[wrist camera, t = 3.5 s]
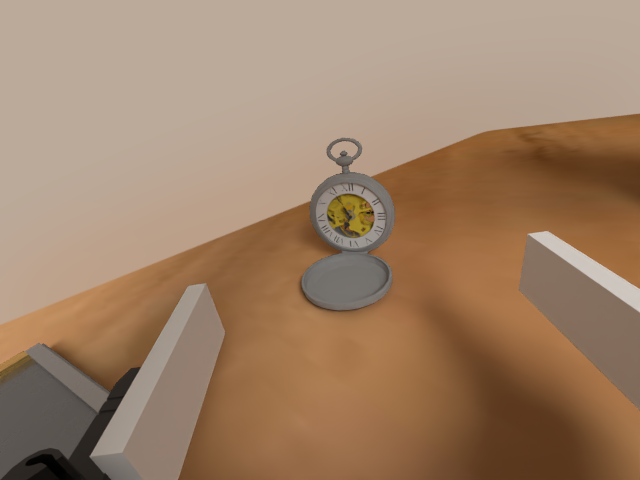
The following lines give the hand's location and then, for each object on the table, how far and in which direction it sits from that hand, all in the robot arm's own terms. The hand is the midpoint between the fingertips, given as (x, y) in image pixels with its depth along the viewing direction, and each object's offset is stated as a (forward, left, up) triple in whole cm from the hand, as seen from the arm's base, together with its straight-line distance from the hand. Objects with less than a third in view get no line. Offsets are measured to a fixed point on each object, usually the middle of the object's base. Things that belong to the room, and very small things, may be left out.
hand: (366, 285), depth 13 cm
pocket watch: (-8, -5, -6) cm, 11 cm away
